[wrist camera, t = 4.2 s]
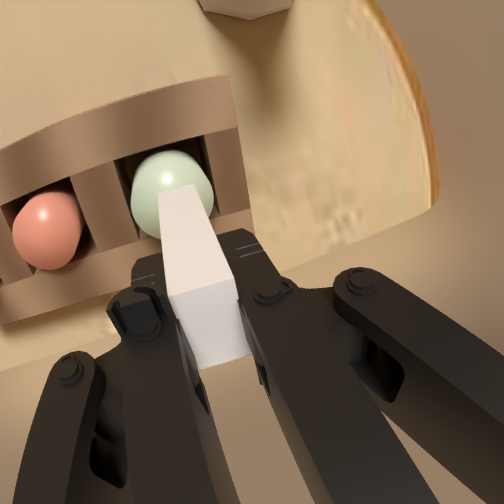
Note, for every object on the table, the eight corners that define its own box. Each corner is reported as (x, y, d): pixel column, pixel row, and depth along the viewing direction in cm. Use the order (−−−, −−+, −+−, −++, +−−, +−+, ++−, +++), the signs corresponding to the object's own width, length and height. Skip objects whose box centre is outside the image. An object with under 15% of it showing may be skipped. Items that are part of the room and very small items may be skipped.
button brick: (45, 246, 17) (31, 277, 14) (22, 193, 15) (1, 217, 12) (96, 228, 18) (88, 258, 15) (75, 171, 15) (60, 192, 13)
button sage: (144, 219, 17) (145, 249, 15) (125, 157, 15) (120, 176, 12) (207, 201, 18) (220, 227, 15) (193, 138, 16) (204, 152, 13)
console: (-16, 301, 18) (-31, 335, 15) (-71, 193, 13) (-99, 217, 9) (238, 220, 22) (256, 248, 19) (213, 76, 17) (229, 75, 13)
